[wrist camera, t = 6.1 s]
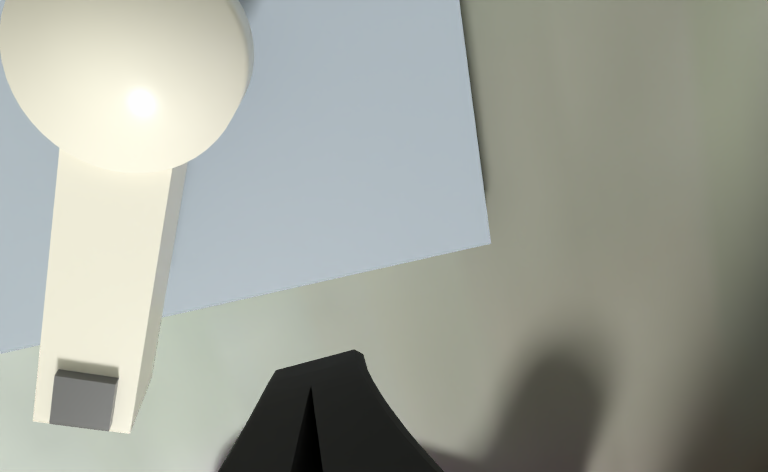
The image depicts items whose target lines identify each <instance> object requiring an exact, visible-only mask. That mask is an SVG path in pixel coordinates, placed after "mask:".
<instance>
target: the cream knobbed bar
mask: <svg viewBox="0 0 768 472" xmlns="http://www.w3.org/2000/svg"><path fill="white" fill-rule="evenodd" d="M0 53H1V60H2V65H3V68H4V72H5V76H6V79H7V81H8V84H9V86H10V88H11V91H12V93H13V95H14V97H15V98H16V100H17V102H18V104H19V106H20V107H21V109H22V110H23V111H24V113H25V114H26V116H27V117H28V118H29V120H30V121H31V122H32V123H33V124H34V125H35V126H36V128H37V129H38V130H39V131H40V132H41V133H42V134H43V135H44V136H45V137H47V138H48V139H49V140H50V141H51V142H52V143H54V144H55V145H56V146H58V147H59V158H58V168H57V178H56V189H55V199H54V209H53V219H52V230H51V240H50V250H49V260H48V270H47V281H46V291H45V301H44V311H43V322H42V332H41V342H40V352H39V362H38V373H37V383H36V393H35V403H34V413H33V421H34V422H42V423H49V424H55V425H63V426H71V427H79V428H87V429H94V430H102V431H112V432H120V433H128V434H130V432H131V430H132V427H133V425H134V422H135V419H136V417H137V414H138V412H139V409H140V406H141V404H142V401H143V399H144V396H145V394H146V391H147V388H148V386H149V383H150V381H151V378H152V373H153V367H154V361H155V355H156V349H157V343H158V337H159V331H160V325H161V319H162V313H163V307H164V301H165V295H166V289H167V283H168V277H169V271H170V265H171V260H172V254H173V248H174V242H175V236H176V230H177V224H178V218H179V212H180V206H181V200H182V194H183V188H184V182H185V176H186V170H187V164H188V161H190V160H192V159H194V158H196V157H197V156H199V155H200V154H201V153H203V152H204V151H206V150H207V149H208V148H209V147H210V146H211V145H212V144H213V143H214V142H215V141H217V139H218V138H219V137H220V136H221V134H222V133H223V132H224V131H225V129H226V128H227V126H228V124H229V123H230V121H231V119H232V118H233V116H234V114H235V112H236V110H237V108H238V107H239V105H240V103H241V101H242V99H243V97H244V96H245V93H246V91H247V89H248V86H249V84H250V80H251V76H252V73H253V65H254V44H253V36H252V32H251V28H250V24H249V21H248V19H247V16H246V14H245V11H244V9H243V7H242V5H241V4H240V2H239V0H5V4H4V7H3V11H2V14H1V21H0Z"/></svg>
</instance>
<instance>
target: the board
mask: <svg viewBox="0 0 768 472" xmlns="http://www.w3.org/2000/svg"><path fill="white" fill-rule="evenodd" d="M239 2H240V4H241V5H242V7H243V9H244V11H245V14H246V16H247V19H248V21H249V24H250V28H251V32H252V36H253V44H254V65H253V73H252V76H251V80H250V84H249V86H248V89H247V91H246V93H245V96H244V97H243V99H242V101H241V103H240V105H239V107H238V108H237V110H236V112H235V114H234V116H233V118H232V119H231V121H230V123H229V124H228V126H227V128H226V129H225V131H224V132H223V133H222V134H221V136H220V137H219V138H218V139H217V141H215V142H214V143H213V144H212V145H211V146H210V147H209V148H208V149H207V150H206V151H204V152H203V153H201V154H200V155H199V156H197V157H196V158H194V159H192V160H190V161H188V164H187V170H186V176H185V182H184V188H183V194H182V200H181V206H180V212H179V218H178V224H177V230H176V236H175V242H174V248H173V254H172V260H171V265H170V271H169V277H168V283H167V289H166V295H165V301H164V307H163V313H162V317H166V316H171V315H175V314H180V313H184V312H188V311H193V310H197V309H202V308H206V307H211V306H215V305H220V304H224V303H229V302H233V301H237V300H242V299H246V298H251V297H255V296H260V295H264V294H269V293H273V292H277V291H282V290H286V289H291V288H295V287H300V286H304V285H309V284H313V283H318V282H322V281H326V280H331V279H335V278H340V277H344V276H349V275H353V274H358V273H362V272H366V271H371V270H375V269H380V268H384V267H389V266H393V265H398V264H402V263H407V262H411V261H415V260H420V259H424V258H429V257H433V256H438V255H442V254H447V253H451V252H456V251H460V250H464V249H469V248H473V247H478V246H482V245H487V244H491V240H490V232H489V225H488V217H487V209H486V202H485V194H484V186H483V179H482V171H481V164H480V156H479V148H478V141H477V133H476V125H475V118H474V110H473V102H472V95H471V87H470V79H469V72H468V64H467V56H466V49H465V41H464V33H463V26H462V18H461V10H460V3H459V0H239ZM4 4H5V0H0V21H1V14H2V11H3V7H4ZM58 158H59V147H58V146H56V145H55V144H54V143H52V142H51V141H50V140H49V139H48V138H47V137H45V136H44V135H43V134H42V133H41V132H40V131H39V130H38V129H37V128H36V126H35V125H34V124H33V123H32V122H31V121H30V120H29V118H28V117H27V116H26V114H25V113H24V111H23V110H22V109H21V107H20V106H19V104H18V102H17V100H16V98H15V97H14V95H13V93H12V91H11V88H10V86H9V84H8V81H7V79H6V76H5V72H4V68H3V65H2V60H1V53H0V352H1V353H6V352H10V351H15V350H19V349H24V348H28V347H33V346H37V345H40V342H41V332H42V322H43V311H44V301H45V291H46V281H47V270H48V260H49V250H50V240H51V230H52V219H53V209H54V199H55V189H56V178H57V168H58Z"/></svg>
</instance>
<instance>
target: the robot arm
mask: <svg viewBox="0 0 768 472" xmlns="http://www.w3.org/2000/svg"><path fill="white" fill-rule="evenodd" d="M218 472H444V471H443V470H442V469H441V468H440V467H439V466H438V465H437V464H436V463H435V461H434V460H433V459H432V458H431V457H430V456H429V455H428V454H427V453H426V451H425V450H424V449H423V448H422V447H421V446H420V445H419V444H418V442H417V441H416V440H415V439H414V438H413V436H412V435H411V434H410V433H409V432H408V430H407V429H406V428H405V427H404V425H403V424H402V423H401V421H400V420H399V419H398V417H397V416H396V415H395V413H394V412H393V411H392V409H391V408H390V407H389V405H388V404H387V402H386V401H385V399H384V398H383V396H382V395H381V393H380V392H379V390H378V388H377V387H376V385H375V383H374V382H373V380H372V378H371V376H370V374H369V372H368V370H367V366H366V363H365V359H364V355H363V354H362V353H360V352H358V351H356V350H351V351H347V352H343V353H339V354H336V355H332V356H328V357H324V358H321V359H317V360H313V361H309V362H306V363H302V364H298V365H294V366H291V367H287V368H283V369H279V370H276V371H275V373H274V374H273V376H272V378H271V379H270V381H269V383H268V385H267V386H266V388H265V390H264V392H263V394H262V396H261V397H260V399H259V401H258V403H257V405H256V407H255V409H254V410H253V412H252V414H251V416H250V418H249V420H248V421H247V423H246V425H245V427H244V429H243V430H242V432H241V434H240V436H239V437H238V439H237V441H236V443H235V444H234V446H233V448H232V449H231V451H230V453H229V454H228V456H227V458H226V460H225V461H224V463H223V465H222V466H221V468H220V470H219V471H218Z"/></svg>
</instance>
